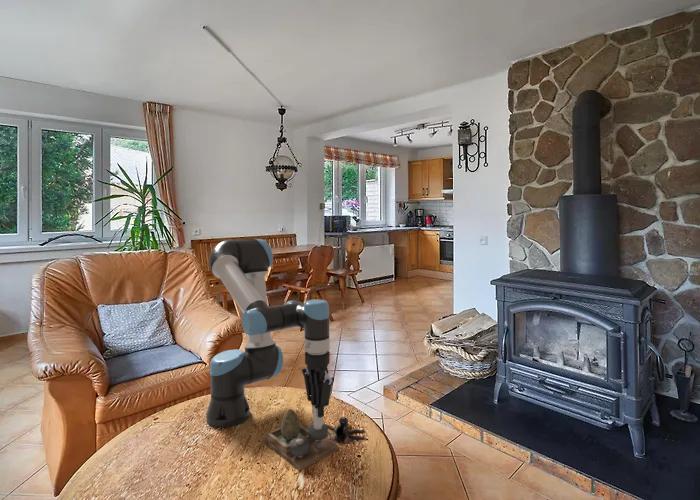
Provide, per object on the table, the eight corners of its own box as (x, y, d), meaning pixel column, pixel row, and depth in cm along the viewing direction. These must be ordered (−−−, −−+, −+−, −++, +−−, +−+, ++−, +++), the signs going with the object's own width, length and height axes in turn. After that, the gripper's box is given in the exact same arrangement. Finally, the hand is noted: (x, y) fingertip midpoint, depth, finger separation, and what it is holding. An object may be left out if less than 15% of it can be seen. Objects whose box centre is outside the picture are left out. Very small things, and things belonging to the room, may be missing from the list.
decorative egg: (283, 446, 123) (282, 415, 122) (279, 436, 128) (278, 407, 127) (302, 442, 125) (301, 412, 124) (297, 433, 130) (296, 403, 130)
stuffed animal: (364, 442, 126) (333, 420, 127) (347, 465, 127) (316, 442, 128) (368, 423, 137) (339, 402, 138) (352, 443, 139) (324, 423, 140)
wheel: (304, 434, 123) (304, 425, 122) (319, 427, 127) (319, 419, 126) (316, 442, 118) (316, 433, 118) (331, 434, 122) (331, 426, 122)
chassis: (262, 442, 128) (262, 424, 127) (300, 425, 138) (300, 408, 137) (299, 470, 113) (299, 450, 113) (338, 449, 123) (338, 431, 123)
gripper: (294, 348, 122) (295, 422, 124) (321, 359, 113) (322, 438, 115) (313, 343, 128) (314, 414, 129) (340, 353, 118) (341, 429, 120)
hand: (318, 425), depth 122 cm, fingers closed
